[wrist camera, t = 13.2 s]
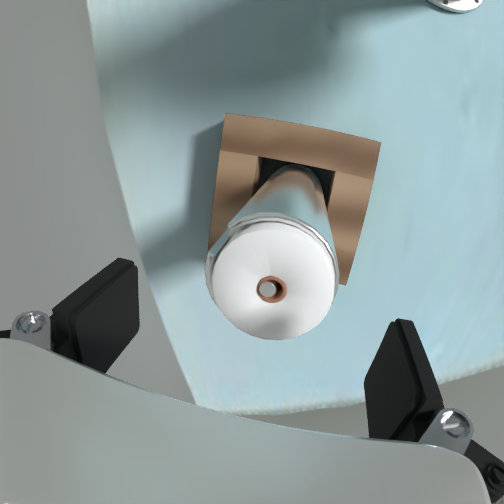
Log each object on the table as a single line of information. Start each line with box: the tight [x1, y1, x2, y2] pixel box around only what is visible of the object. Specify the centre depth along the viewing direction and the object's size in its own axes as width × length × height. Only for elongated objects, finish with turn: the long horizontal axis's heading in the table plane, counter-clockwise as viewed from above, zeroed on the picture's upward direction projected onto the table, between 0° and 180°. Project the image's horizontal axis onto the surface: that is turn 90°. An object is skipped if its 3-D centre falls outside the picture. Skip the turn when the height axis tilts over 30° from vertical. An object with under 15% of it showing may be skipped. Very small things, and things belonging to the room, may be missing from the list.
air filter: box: [205, 165, 339, 340], centre depth 26 cm, size 6×6×25 cm
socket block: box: [207, 113, 381, 285], centre depth 35 cm, size 16×16×5 cm
